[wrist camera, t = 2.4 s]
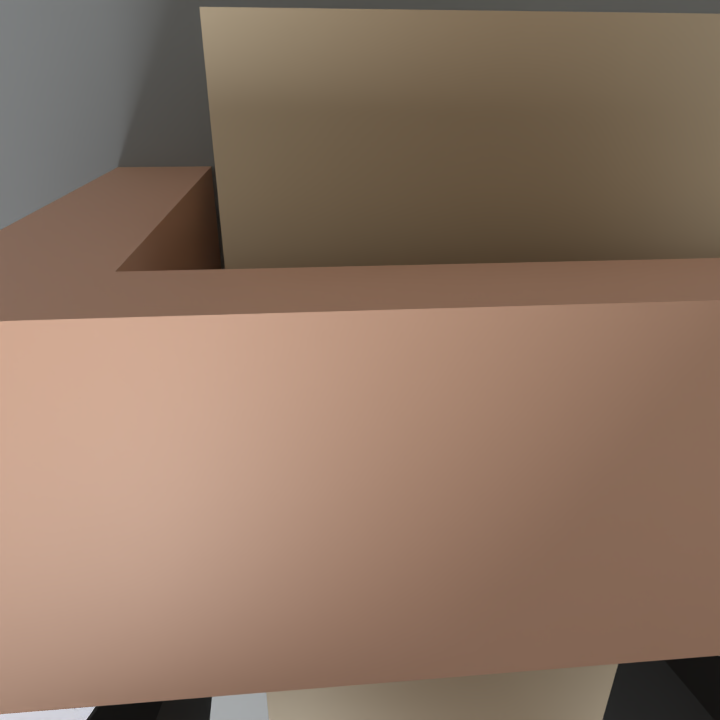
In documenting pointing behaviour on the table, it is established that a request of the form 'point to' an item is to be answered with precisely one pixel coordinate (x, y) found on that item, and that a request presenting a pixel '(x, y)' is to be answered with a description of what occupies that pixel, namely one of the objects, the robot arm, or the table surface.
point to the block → (462, 192)
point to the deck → (148, 104)
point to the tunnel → (340, 460)
